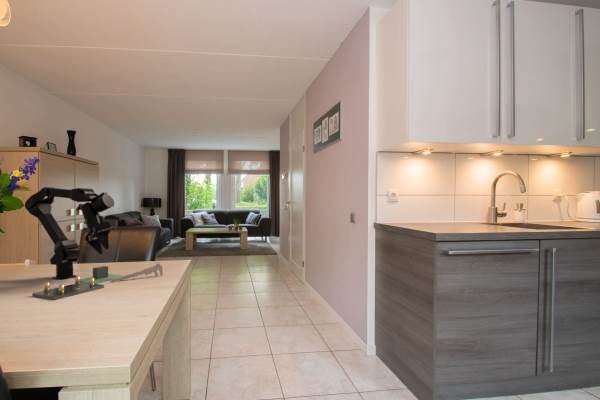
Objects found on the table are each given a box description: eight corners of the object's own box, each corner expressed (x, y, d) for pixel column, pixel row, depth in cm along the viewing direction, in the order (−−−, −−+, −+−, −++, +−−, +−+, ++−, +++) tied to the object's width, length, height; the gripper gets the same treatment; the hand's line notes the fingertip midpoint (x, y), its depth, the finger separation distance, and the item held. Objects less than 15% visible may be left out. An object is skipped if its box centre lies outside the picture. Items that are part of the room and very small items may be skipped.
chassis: (32, 296, 121) (32, 284, 121) (82, 284, 137) (82, 274, 137) (54, 300, 116) (54, 287, 116) (104, 287, 133) (104, 277, 133)
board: (75, 283, 142) (75, 269, 142) (106, 276, 155) (106, 263, 155) (93, 285, 138) (93, 271, 138) (124, 278, 151) (124, 265, 151)
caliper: (161, 276, 154) (161, 261, 154) (162, 276, 153) (162, 262, 153) (109, 282, 142) (109, 267, 142) (110, 283, 141) (110, 267, 141)
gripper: (118, 205, 146) (131, 240, 144) (106, 218, 158) (117, 251, 157) (89, 211, 138) (102, 248, 136) (78, 224, 150) (90, 259, 149)
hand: (104, 251), depth 145 cm, fingers open, 9 cm apart
